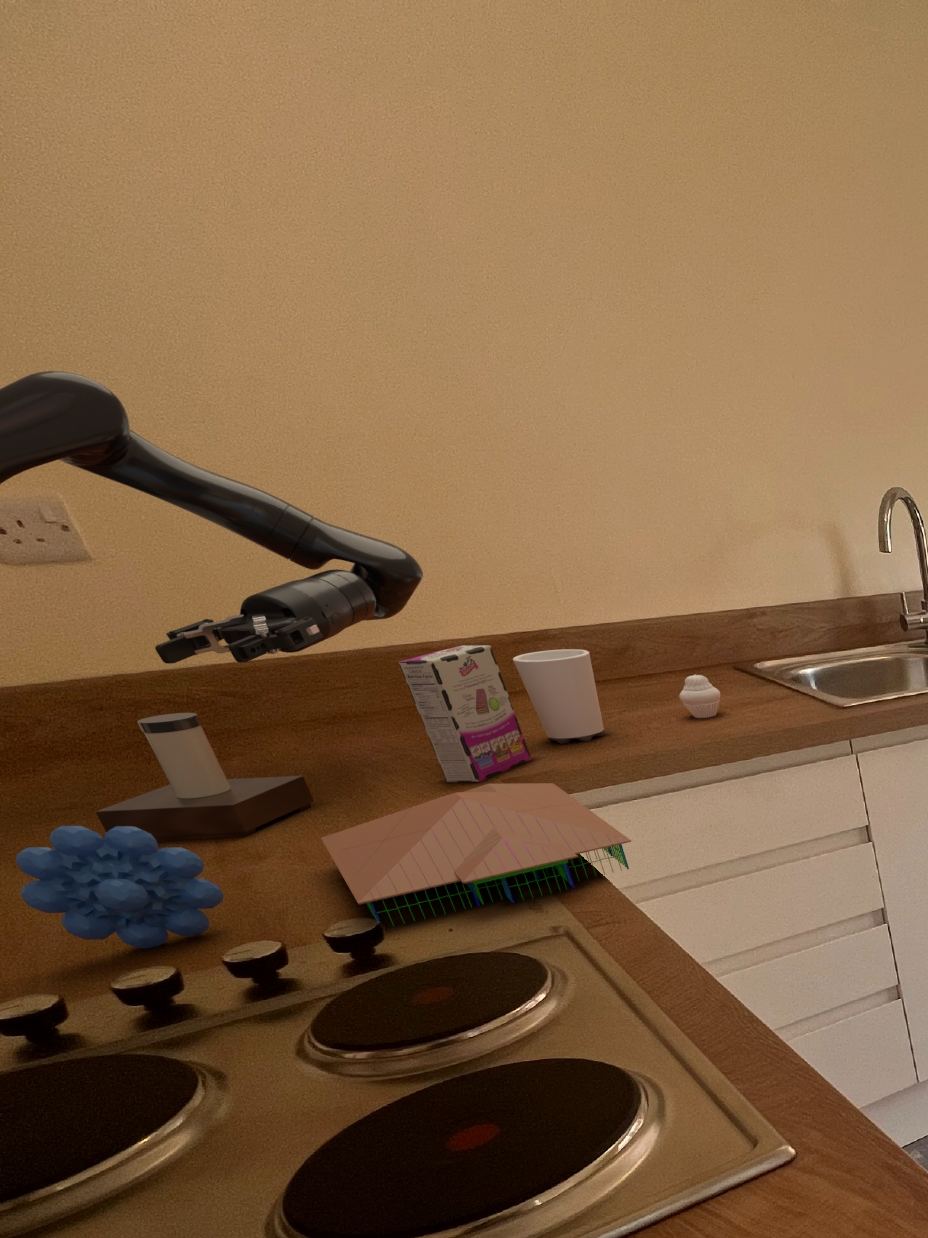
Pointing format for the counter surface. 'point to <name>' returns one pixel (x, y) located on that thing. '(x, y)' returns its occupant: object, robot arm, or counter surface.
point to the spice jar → (185, 755)
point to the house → (471, 842)
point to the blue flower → (118, 885)
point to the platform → (210, 809)
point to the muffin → (700, 696)
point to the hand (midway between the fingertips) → (198, 655)
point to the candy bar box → (466, 712)
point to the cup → (562, 693)
